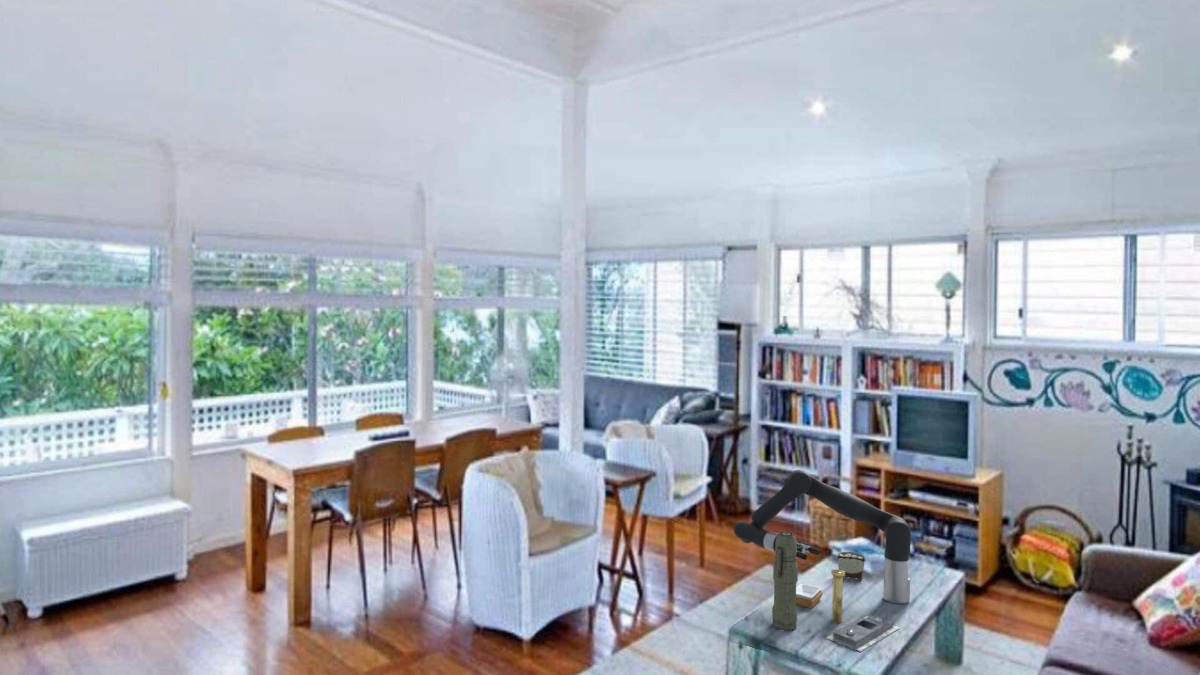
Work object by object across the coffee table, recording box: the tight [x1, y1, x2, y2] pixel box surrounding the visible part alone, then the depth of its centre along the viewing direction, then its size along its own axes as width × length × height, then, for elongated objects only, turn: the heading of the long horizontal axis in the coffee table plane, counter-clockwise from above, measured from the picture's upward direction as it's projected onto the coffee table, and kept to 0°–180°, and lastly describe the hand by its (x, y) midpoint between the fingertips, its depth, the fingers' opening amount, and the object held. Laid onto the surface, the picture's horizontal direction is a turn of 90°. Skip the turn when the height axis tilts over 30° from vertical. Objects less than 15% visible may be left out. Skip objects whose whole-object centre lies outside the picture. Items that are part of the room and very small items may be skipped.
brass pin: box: [830, 568, 845, 624], centre depth 276 cm, size 5×5×19 cm
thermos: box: [771, 531, 799, 632], centre depth 271 cm, size 9×12×35 cm
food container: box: [836, 551, 867, 580], centre depth 322 cm, size 12×6×10 cm, turn 71°
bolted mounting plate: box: [826, 614, 900, 653], centre depth 266 cm, size 28×13×4 cm, turn 131°
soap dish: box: [796, 583, 824, 609], centre depth 294 cm, size 12×10×5 cm
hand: (812, 554), depth 284 cm, fingers open, 8 cm apart
